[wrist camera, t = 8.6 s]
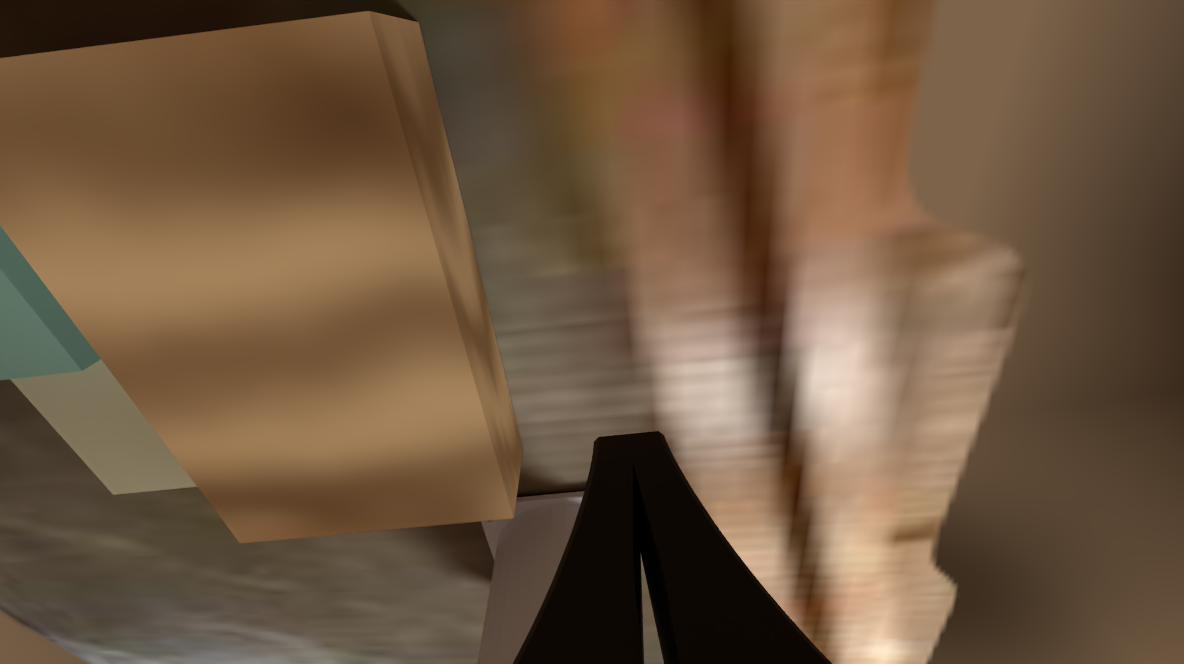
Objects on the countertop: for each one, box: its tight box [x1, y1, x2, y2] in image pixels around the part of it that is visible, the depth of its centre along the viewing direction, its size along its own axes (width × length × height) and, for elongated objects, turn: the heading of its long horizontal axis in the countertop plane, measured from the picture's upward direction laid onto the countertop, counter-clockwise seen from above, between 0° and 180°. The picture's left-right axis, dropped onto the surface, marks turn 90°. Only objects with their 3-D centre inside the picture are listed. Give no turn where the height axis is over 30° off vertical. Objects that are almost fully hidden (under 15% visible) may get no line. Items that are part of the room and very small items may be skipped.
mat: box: [10, 360, 197, 495], centre depth 19 cm, size 18×8×1 cm, turn 6°
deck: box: [0, 11, 523, 543], centre depth 18 cm, size 18×12×4 cm, turn 6°
